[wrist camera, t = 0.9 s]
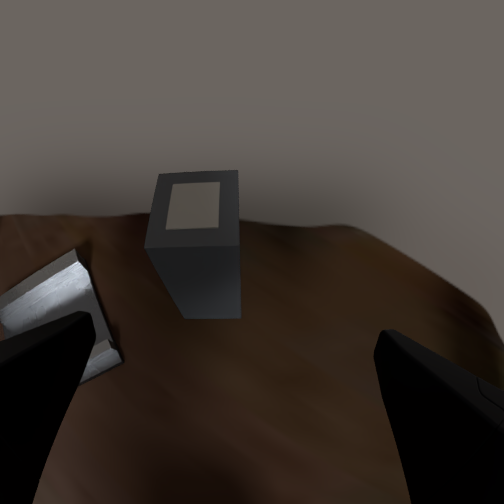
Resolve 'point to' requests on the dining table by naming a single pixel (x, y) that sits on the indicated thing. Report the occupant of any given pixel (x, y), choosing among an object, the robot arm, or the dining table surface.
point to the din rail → (61, 308)
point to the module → (197, 242)
